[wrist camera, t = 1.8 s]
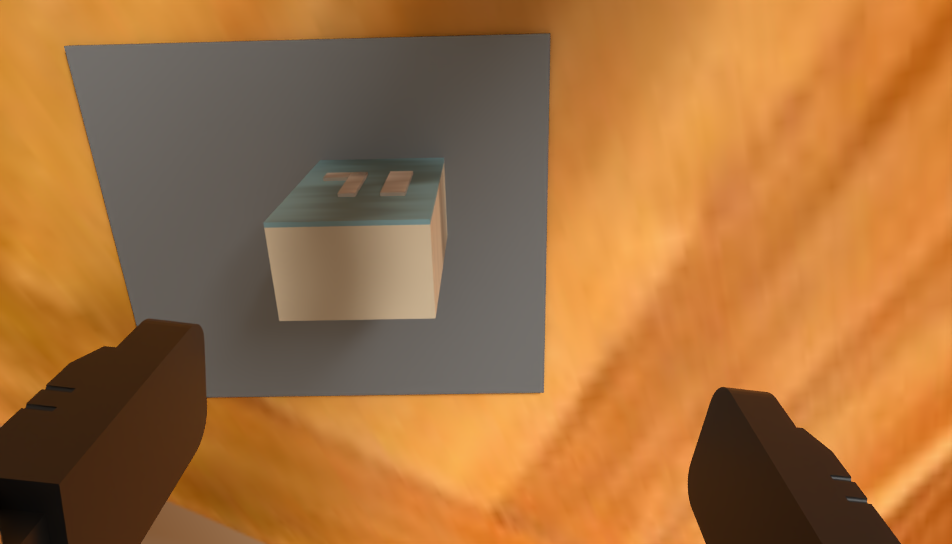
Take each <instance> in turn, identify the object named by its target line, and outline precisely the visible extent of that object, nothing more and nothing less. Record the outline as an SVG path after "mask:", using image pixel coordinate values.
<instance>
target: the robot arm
mask: <svg viewBox="0 0 952 544" xmlns="http://www.w3.org/2000/svg"><path fill="white" fill-rule="evenodd" d="M206 416H207V396H206V368H205V340H204V333H203V329H202V327H201V326H200V325H199V324H193V323H185V322H176V321H168V320H159V319H151V318H149V319H145V320H144V321H142V322H141V323H140V324H139V325H138V326H137V327H136V328H135V329H134V330H133V331H132V332H131V333H130V334H129V335H128V336H127V337H126V338H125V339H124V340H123V341H122V342H121V343H120V344H119V345H118V346H117V347H116V348H115V347H106V346H104V347H102V348H100V349H98V350H96V351H94V352H92V353H90V354H88V355H85V356H83V357H81V358H79V359H77V360H75V361H73V362H71V363H70V364H68V365H67V366H66V367H65V368H64V369H63V370H62V371H61V372H60V373H59V374H58V375H57V376H56V377H54V378H53V379H52V380H51V381H50V382H49V383H48V384H47V385H46V389H45V390H43V389H42V390H40V391H39V392H38V393H37V394H36V395H35V396H34V397H33V398H32V399H31V400H30V401H29V402H28V403H27V405H26V408H25V409H23V408H21V409H20V410H19V411H18V412H17V413H16V414H15V415H14V416H13V417H11V418H10V419H9V420H8V421H7V422H6V423H5V424H4V425H3V426H2V427H1V428H0V544H141V542H142V540H143V539H144V537H145V535H146V534H147V532H148V530H149V529H150V527H151V525H152V524H153V522H154V520H155V519H156V517H157V515H158V514H159V512H160V511H161V509H162V507H163V505H164V504H165V502H166V501H167V499H168V497H169V496H170V494H171V492H172V491H173V489H174V488H175V486H176V484H177V483H178V481H179V479H180V478H181V476H182V474H183V473H184V471H185V469H186V468H187V466H188V464H189V463H190V461H191V459H192V458H193V456H194V454H195V453H196V451H197V449H198V447H199V445H200V442H201V439H202V436H203V433H204V429H205V424H206ZM688 495H689V500H690V504H691V507H692V510H693V512H694V515H695V517H696V520H697V522H698V525H699V527H700V530H701V532H702V535H703V537H704V540H705V542H706V544H901V543H900V542H899V540H898V539H897V538H896V536H895V535H894V534H893V532H892V531H891V530H890V528H889V527H888V526H887V524H886V523H885V522H884V520H883V519H882V518H881V516H880V515H879V514H878V512H877V511H876V510H875V508H874V507H873V506H872V504H867V498H866V496H865V495H864V494H863V492H862V491H861V490H860V488H859V487H858V486H857V484H856V483H855V482H851V476H850V475H849V473H848V472H847V471H846V469H845V468H844V467H843V465H842V464H841V463H840V461H839V460H838V459H837V457H836V456H835V455H834V453H833V452H832V451H831V450H830V449H828V448H827V447H826V446H824V445H823V444H822V443H821V442H819V441H818V440H817V439H816V438H814V437H813V436H812V435H811V434H809V433H808V432H807V431H806V430H804V429H803V428H796V426H795V425H794V423H793V422H792V420H791V419H790V418H789V416H788V415H787V413H786V412H785V411H784V409H783V408H782V406H781V405H780V404H779V402H778V401H777V399H776V398H775V397H774V396H773V395H772V394H771V393H768V392H760V391H752V390H743V389H735V388H726V387H721V388H719V389H718V390H716V392H715V393H714V395H713V397H712V399H711V402H710V405H709V408H708V411H707V414H706V417H705V421H704V424H703V427H702V430H701V433H700V436H699V439H698V442H697V445H696V448H695V451H694V454H693V457H692V461H691V464H690V468H689V474H688Z"/></svg>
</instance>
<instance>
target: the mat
mask: <svg viewBox="0 0 952 544" xmlns="http://www.w3.org/2000/svg"><path fill="white" fill-rule="evenodd" d="M64 48H65V52H66V55H67V59H68V63H69V67H70V71H71V75H72V79H73V82H74V86H75V90H76V94H77V98H78V102H79V106H80V109H81V113H82V117H83V121H84V125H85V129H86V132H87V136H88V140H89V144H90V148H91V152H92V156H93V159H94V163H95V167H96V171H97V175H98V179H99V183H100V186H101V190H102V194H103V198H104V202H105V206H106V210H107V213H108V217H109V221H110V225H111V229H112V233H113V236H114V240H115V244H116V248H117V252H118V256H119V260H120V263H121V267H122V271H123V275H124V279H125V283H126V287H127V290H128V294H129V298H130V302H131V306H132V310H133V314H134V317H135V321H136V325H137V326H138V325H139V324H140V323H141V322H142V321H144V320H145V319H149V318H151V319H159V320H168V321H176V322H185V323H193V324H199V325H200V326H201V327H202V329H203V333H204V340H205V368H206V396H207V397H270V396H340V395H409V394H478V393H544V349H545V295H546V241H547V188H548V134H549V80H550V33H544V34H505V35H466V36H427V37H388V38H349V39H310V40H271V41H232V42H193V43H154V44H115V45H76V46H64ZM400 158H444V169H445V191H446V213H447V242H446V249H445V256H444V263H443V270H442V277H441V284H440V291H439V298H438V305H437V312H436V318H434V319H375V320H315V321H279V316H278V310H277V303H276V297H275V291H274V285H273V279H272V273H271V266H270V260H269V254H268V248H267V242H266V235H265V229H264V223H263V222H264V221H265V220H266V219H267V218H268V217H269V216H270V215H271V214H272V213H273V211H274V210H275V209H276V208H277V207H278V206H279V205H280V204H281V203H282V202H283V200H284V199H285V198H286V197H287V196H288V195H289V194H290V193H291V192H292V190H293V189H294V188H295V187H296V186H297V185H298V184H299V183H300V182H301V181H302V179H303V178H304V177H305V176H306V175H307V174H308V173H309V172H310V171H311V170H312V168H313V167H314V166H315V165H316V164H317V163H318V162H319V161H320V160H355V159H400Z"/></svg>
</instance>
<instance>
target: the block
mask: <svg viewBox="0 0 952 544" xmlns="http://www.w3.org/2000/svg"><path fill="white" fill-rule="evenodd" d="M263 223H264V229H265V235H266V242H267V248H268V254H269V260H270V266H271V273H272V279H273V285H274V291H275V297H276V303H277V310H278V316H279V321H315V320H375V319H434V318H436V312H437V305H438V298H439V291H440V284H441V277H442V270H443V263H444V256H445V249H446V242H447V213H446V191H445V169H444V158H400V159H355V160H320V161H319V162H318V163H317V164H316V165H315V166H314V167H313V168H312V170H311V171H310V172H309V173H308V174H307V175H306V176H305V177H304V178H303V179H302V181H301V182H300V183H299V184H298V185H297V186H296V187H295V188H294V189H293V190H292V192H291V193H290V194H289V195H288V196H287V197H286V198H285V199H284V200H283V202H282V203H281V204H280V205H279V206H278V207H277V208H276V209H275V210H274V211H273V213H272V214H271V215H270V216H269V217H268V218H267V219H266V220H265V221H264V222H263Z"/></svg>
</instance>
